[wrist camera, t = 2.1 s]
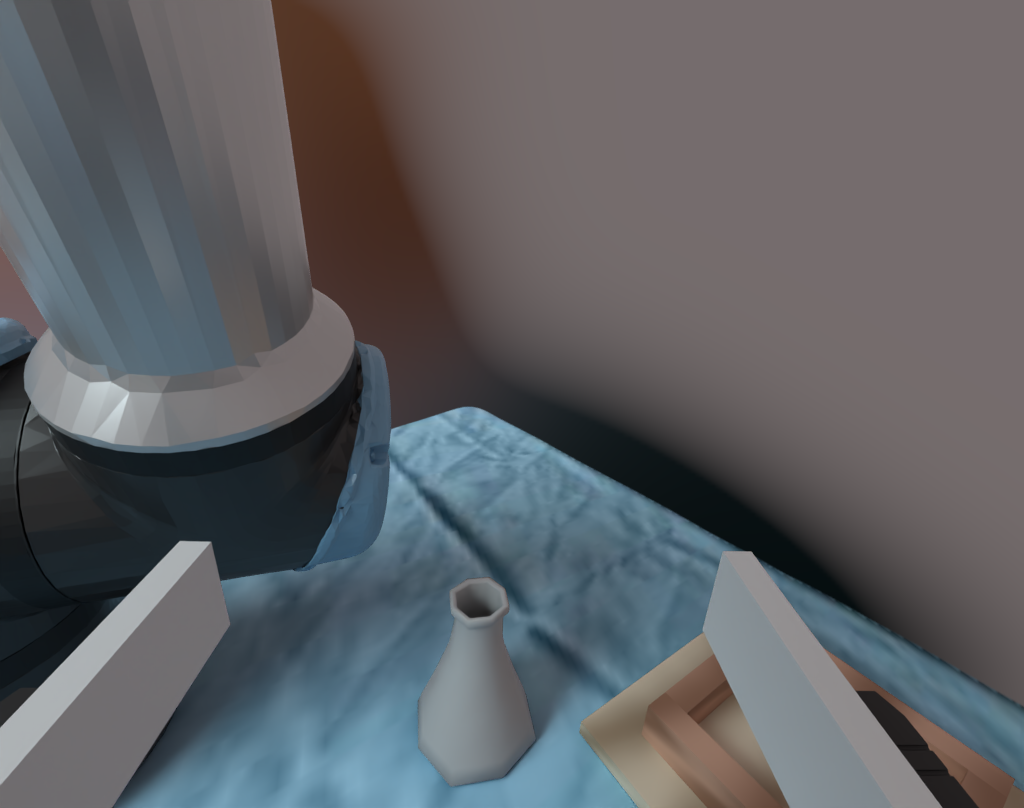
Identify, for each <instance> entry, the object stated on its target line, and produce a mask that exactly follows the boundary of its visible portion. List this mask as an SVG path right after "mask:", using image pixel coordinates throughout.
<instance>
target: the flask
mask: <svg viewBox="0 0 1024 808" xmlns="http://www.w3.org/2000/svg"><path fill="white" fill-rule="evenodd" d="M449 594H450V606H451V614H452V616H454V624H453V628H452V632H451V636H450V640H449V643H448V645H447V647H446V649H445V651H444V653H443V655H442V657H441V659H440V661H439V663H438V665H437V667H436V669H435V671H434V673H433V674H432V676H431V678H430V680H429V681H428V683H427V685H426V687H425V688H424V690H423V692H422V694H421V696H420V698H419V700H418V748H419V750H420V751H421V752H422V753H423V754H424V756H425V757H426V758H427V759H428V760H429V761H430V763H431V764H432V765H433V766H434V767H435V769H436V770H437V771H438V772H439V773H440V775H441V776H442V777H443V778H444V779H445V781H446V782H447V783H448V784H449V785H450V787H452V786H458V785H464V784H469V783H475V782H481V781H487V780H493V779H498V778H503V777H504V776H505V775H506V773H507V772H508V771H509V770H510V769H511V768H512V767H513V765H514V764H515V763H516V762H517V761H518V760H519V758H520V757H521V756H522V755H523V754H524V753H525V752H526V750H527V749H528V748H529V747H530V746H531V745H532V744H533V742H534V741H535V740H536V737H535V733H534V728H533V724H532V719H531V715H530V710H529V706H528V701H527V697H526V693H525V691H524V688H523V686H522V684H521V682H520V679H519V677H518V675H517V673H516V671H515V669H514V666H513V664H512V662H511V659H510V656H509V654H508V651H507V649H506V646H505V644H504V640H503V634H502V632H503V617H504V616H505V615H506V614H507V613H508V612H509V603H508V598H507V594H506V590H505V588H504V587H502V586H501V585H500V584H498V583H497V582H495V581H494V580H493V579H491V578H490V577H483V578H472V579H466V580H465V581H463V582H462V583H460V584H459V585H457V586H456V587H454V588H453V589H451V590H450V593H449Z"/></svg>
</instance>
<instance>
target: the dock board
mask: <svg viewBox="0 0 1024 808" xmlns="http://www.w3.org/2000/svg"><path fill="white" fill-rule="evenodd" d="M824 650H825V651H826V652H827V654H828V655H829V656H830V658H831V659H832V660H833V662H834V663H835V664H836V666H837V667H838V669H839V670H840V671H841V673H842V674H843V675H844V677H845V678H846V679H847V681H848V682H849V683H850V685H851V686H852V687H853V689H854V690H855V691H876V692H877V693H878V694H879V695H881V696H882V697H883V698H884V699H885V700H887V701H888V702H889V703H890V704H891V705H893V706H894V707H895V708H896V709H897V710H899V711H900V712H901V713H902V714H903V715H905V717H906V718H907V719H908V720H909V722H910V723H911V724H912V725H913V727H914V728H915V729H916V730H917V732H918V733H919V734H920V735H921V736H922V738H923V739H924V740H925V741H926V743H927V744H928V748H929V749H930V750H931V751H934V753H935V754H936V755H937V756H938V758H939V759H940V760H941V761H942V762H943V764H944V765H945V766H946V767H947V769H948V773H949V774H950V775H951V776H954V777H955V779H956V780H957V781H958V782H959V784H960V785H961V786H962V787H963V788H964V790H965V791H966V792H967V793H968V795H969V796H970V797H971V798H972V800H973V801H974V802H975V803H976V805H977V806H978V807H979V808H1024V792H1023V791H1021V790H1020V789H1018V788H1017V787H1016V786H1014V785H1013V783H1014V780H1015V779H1014V778H1012V777H1011V776H1009V775H1008V774H1007V773H1005V772H1004V771H1002V770H1001V769H999V768H998V767H996V766H995V765H993V764H992V763H990V762H989V761H988V760H986V759H985V758H983V757H982V756H980V755H979V754H977V753H976V752H974V751H973V750H972V749H970V748H969V747H967V746H966V745H964V744H963V743H961V742H960V741H958V740H957V739H955V738H954V737H953V736H951V735H950V734H948V733H947V732H945V731H944V730H942V729H941V728H939V727H938V726H937V725H935V724H934V723H932V722H931V721H929V720H928V719H926V718H925V717H923V716H922V715H920V714H919V713H918V712H916V711H915V710H913V709H912V708H910V707H909V706H907V705H906V704H904V703H903V702H902V701H900V700H899V699H897V698H896V697H894V696H893V695H891V694H890V693H888V692H887V691H885V690H884V689H883V688H881V687H880V686H878V685H877V684H875V683H874V682H872V681H871V680H869V679H868V678H867V677H865V676H864V675H862V674H861V673H859V672H858V671H856V670H855V669H853V668H852V667H850V666H849V665H848V664H846V663H845V662H843V661H842V660H840V659H839V658H837V657H836V656H834V655H833V654H832V653H830V652H829V651H827V650H826V649H824ZM580 734H581V735H582V736H583V738H584V739H585V740H586V742H587V743H588V744H589V745H590V747H591V748H592V749H593V750H594V752H595V753H596V754H597V755H598V757H599V758H600V759H601V761H602V762H603V763H604V764H605V766H606V767H607V768H608V769H609V771H610V772H611V773H612V775H613V776H614V777H615V778H616V780H617V781H618V782H619V783H620V785H621V786H622V787H623V789H624V790H625V791H626V792H627V794H628V795H629V796H630V797H631V799H632V800H633V801H634V803H635V804H636V805H637V806H638V808H790V807H789V805H788V803H787V801H786V799H785V797H784V795H783V793H782V791H781V789H780V787H779V785H778V783H777V781H776V779H775V777H774V775H773V772H772V770H771V768H770V766H769V764H768V762H767V760H766V758H765V756H764V754H763V752H762V750H761V748H760V746H759V744H758V742H757V740H756V738H755V736H754V734H753V732H752V730H751V728H750V726H749V724H748V722H747V719H746V717H745V715H744V713H743V711H742V709H741V707H740V705H739V703H738V701H737V699H736V697H735V695H734V693H733V691H732V689H731V687H730V685H729V683H728V681H727V679H726V677H725V675H724V673H723V671H722V669H721V666H720V664H719V662H718V660H717V658H716V656H715V654H714V652H713V650H712V648H711V646H710V644H709V642H708V640H707V638H706V636H705V634H704V632H703V633H702V634H700V635H699V636H697V637H696V638H695V639H693V640H692V641H691V642H689V643H688V644H687V645H685V646H684V647H682V648H681V649H680V650H678V651H677V652H676V653H674V654H673V655H672V656H670V657H669V658H667V659H666V660H665V661H663V662H662V663H661V664H659V665H658V666H657V667H655V668H654V669H652V670H651V671H650V672H648V673H647V674H646V675H644V676H643V677H642V678H640V679H639V680H637V681H636V682H635V683H633V684H632V685H631V686H629V687H628V688H627V689H625V690H624V691H622V692H621V693H620V694H618V695H617V696H616V697H614V698H613V699H612V700H610V701H609V702H607V703H606V704H605V705H603V706H602V707H601V708H599V709H598V710H597V711H595V712H594V713H592V714H591V715H590V716H588V717H587V718H586V719H584V720H583V721H582V722H581V726H580Z"/></svg>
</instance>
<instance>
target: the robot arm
mask: <svg viewBox="0 0 1024 808" xmlns="http://www.w3.org/2000/svg"><path fill="white" fill-rule="evenodd" d="M0 246H1V248H2V249H3V251H4V252H5V254H6V256H7V258H8V259H9V261H10V263H11V264H12V266H13V267H14V269H15V271H16V272H17V274H18V276H19V277H20V279H21V281H22V283H23V284H24V286H25V287H26V289H27V291H28V293H29V294H30V296H31V298H32V299H33V301H34V303H35V304H36V306H37V308H38V309H39V311H40V313H41V314H42V316H43V318H44V319H45V321H46V323H47V324H48V326H49V328H48V329H47V330H46V331H45V333H44V334H43V335H42V337H41V338H40V339H39V341H38V342H37V339H36V338H35V337H33V336H31V335H30V334H29V332H28V331H27V330H26V328H25V326H23V325H22V324H21V323H20V322H18V321H16V320H13V319H10V318H0V808H112V807H113V805H114V804H115V802H116V801H117V799H118V798H119V796H120V795H121V793H122V792H123V790H124V788H125V787H126V785H127V784H128V782H129V781H130V779H131V778H132V776H133V775H134V773H135V771H136V770H137V769H138V768H139V766H140V765H141V764H142V763H143V762H144V760H145V759H146V758H147V756H148V755H149V754H150V752H151V751H152V750H153V748H154V747H155V745H156V744H157V742H158V741H159V739H160V738H161V736H162V735H163V733H164V731H165V729H166V728H167V726H168V724H169V722H170V720H171V718H172V716H173V714H174V711H175V709H176V708H177V706H178V705H179V703H180V702H181V700H182V699H183V697H184V696H185V694H186V692H187V691H188V689H189V688H190V686H191V685H192V683H193V682H194V680H195V678H196V677H197V675H198V674H199V672H200V671H201V669H202V668H203V666H204V665H205V663H206V661H207V660H208V658H209V657H210V655H211V654H212V652H213V651H214V649H215V648H216V646H217V644H218V643H219V641H220V640H221V638H222V637H223V635H224V634H225V632H226V630H227V629H228V627H229V626H230V621H229V616H228V612H227V608H226V603H225V599H224V595H223V590H222V586H221V582H220V581H222V580H228V579H234V578H240V577H246V576H252V575H259V574H266V573H272V572H279V571H286V570H292V569H293V570H294V571H307V570H310V569H312V568H314V567H315V566H316V565H317V564H322V563H327V562H331V561H336V560H340V559H345V558H350V557H353V556H356V555H358V554H360V553H362V552H364V551H365V550H367V549H368V548H369V547H370V546H371V545H372V544H373V542H374V541H375V540H376V538H377V536H378V534H379V532H380V530H381V527H382V523H383V519H384V515H385V510H386V503H387V495H388V486H389V470H390V462H389V455H388V449H389V445H390V444H389V442H390V433H391V410H390V391H389V381H388V374H387V369H386V363H385V360H384V357H383V355H382V353H381V351H380V350H379V349H378V348H377V347H375V346H372V345H368V344H366V345H365V344H363V343H361V342H358V341H355V338H354V333H353V329H352V326H351V324H350V322H349V319H348V318H347V316H346V314H345V313H344V311H343V310H342V309H341V308H340V307H339V306H338V305H337V304H336V303H335V302H333V301H332V300H331V299H330V298H328V297H327V296H326V295H324V294H322V293H321V292H319V291H317V290H316V289H314V288H312V285H311V278H310V271H309V264H308V257H307V250H306V243H305V236H304V229H303V222H302V215H301V208H300V201H299V194H298V187H297V180H296V173H295V166H294V159H293V152H292V145H291V138H290V131H289V125H288V117H287V111H286V103H285V96H284V89H283V83H282V75H281V68H280V61H279V54H278V47H277V40H276V33H275V26H274V19H273V12H272V5H271V0H0ZM702 630H703V632H704V634H705V636H706V638H707V640H708V642H709V644H710V646H711V648H712V650H713V652H714V654H715V656H716V658H717V660H718V662H719V664H720V666H721V669H722V671H723V673H724V675H725V677H726V679H727V681H728V683H729V685H730V687H731V689H732V691H733V693H734V695H735V697H736V699H737V701H738V703H739V705H740V707H741V709H742V711H743V713H744V715H745V717H746V719H747V722H748V724H749V726H750V728H751V730H752V732H753V734H754V736H755V738H756V740H757V742H758V744H759V746H760V748H761V750H762V752H763V754H764V756H765V758H766V760H767V762H768V764H769V766H770V768H771V770H772V772H773V775H774V777H775V779H776V781H777V783H778V785H779V787H780V789H781V791H782V793H783V795H784V797H785V799H786V801H787V803H788V805H789V807H790V808H979V807H978V806H977V805H976V803H975V802H974V801H973V800H972V798H971V797H970V796H969V795H968V793H967V792H966V791H965V790H964V788H963V787H962V786H961V785H960V784H959V782H958V781H957V780H956V779H955V777H954V776H951V775H950V774H949V773H948V769H947V767H946V766H945V765H944V764H943V762H942V761H941V760H940V759H939V758H938V756H937V755H936V754H935V753H934V751H931V750H930V749H929V748H928V744H927V743H926V741H925V740H924V739H923V738H922V736H921V735H920V734H919V733H918V732H917V730H916V729H915V728H914V727H913V725H912V724H911V723H910V722H909V720H908V719H907V718H906V717H905V715H903V714H902V713H901V712H900V711H899V710H897V709H896V708H895V707H894V706H893V705H891V704H890V703H889V702H888V701H887V700H885V699H884V698H883V697H882V696H881V695H879V694H878V693H877V692H876V691H855V690H854V689H853V687H852V686H851V685H850V683H849V682H848V681H847V679H846V678H845V677H844V675H843V674H842V673H841V671H840V670H839V669H838V667H837V666H836V664H835V663H834V662H833V660H832V659H831V658H830V656H829V655H828V654H827V652H826V651H825V650H824V648H823V647H822V646H821V644H820V643H819V642H818V640H817V639H816V638H815V636H814V635H813V634H812V632H811V631H810V630H809V628H808V627H807V626H806V624H805V623H804V622H803V620H802V619H801V618H800V616H799V615H798V614H797V612H796V611H795V610H794V608H793V607H792V606H791V604H790V603H789V602H788V600H787V599H786V598H785V596H784V595H783V593H782V592H781V591H780V589H779V588H778V587H777V585H776V584H775V583H774V581H773V580H772V579H771V577H770V576H769V575H768V573H767V572H766V571H765V569H764V568H763V567H762V565H761V564H760V563H759V561H758V560H757V559H756V557H755V556H754V555H753V553H752V552H740V551H723V553H722V557H721V560H720V564H719V568H718V572H717V576H716V580H715V583H714V587H713V591H712V595H711V599H710V603H709V606H708V610H707V614H706V618H705V622H704V626H703V629H702Z"/></svg>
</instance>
